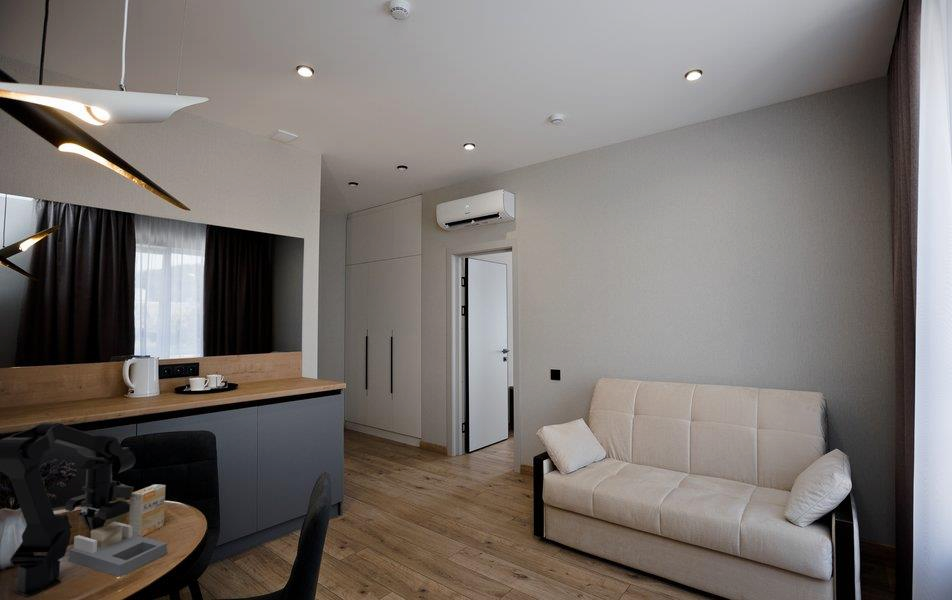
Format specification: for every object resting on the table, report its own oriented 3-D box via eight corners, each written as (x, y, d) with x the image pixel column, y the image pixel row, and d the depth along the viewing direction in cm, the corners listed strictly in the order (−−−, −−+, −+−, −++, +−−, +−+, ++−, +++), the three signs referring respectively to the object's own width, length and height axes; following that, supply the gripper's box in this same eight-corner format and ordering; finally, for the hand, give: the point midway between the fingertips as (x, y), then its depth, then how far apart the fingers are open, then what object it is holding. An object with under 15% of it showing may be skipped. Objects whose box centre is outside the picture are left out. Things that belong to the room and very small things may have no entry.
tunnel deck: (119, 577, 113) (120, 553, 114) (68, 560, 121) (70, 538, 121) (166, 554, 125) (167, 532, 125) (117, 540, 132) (118, 520, 132)
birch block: (101, 548, 121) (102, 533, 122) (90, 545, 123) (90, 530, 123) (121, 540, 126) (122, 525, 126) (110, 537, 128) (110, 523, 128)
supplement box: (140, 538, 133) (142, 494, 134) (127, 536, 134) (129, 493, 135) (164, 526, 141) (166, 484, 142) (152, 524, 142) (154, 483, 143)
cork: (116, 523, 143) (118, 488, 143) (98, 523, 143) (100, 488, 143) (131, 515, 149) (133, 482, 149) (113, 515, 149) (115, 481, 149)
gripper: (150, 476, 131) (147, 529, 131) (108, 468, 138) (106, 519, 137) (108, 489, 121) (105, 547, 120) (65, 480, 127) (62, 535, 126)
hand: (96, 536), depth 126 cm, fingers closed
